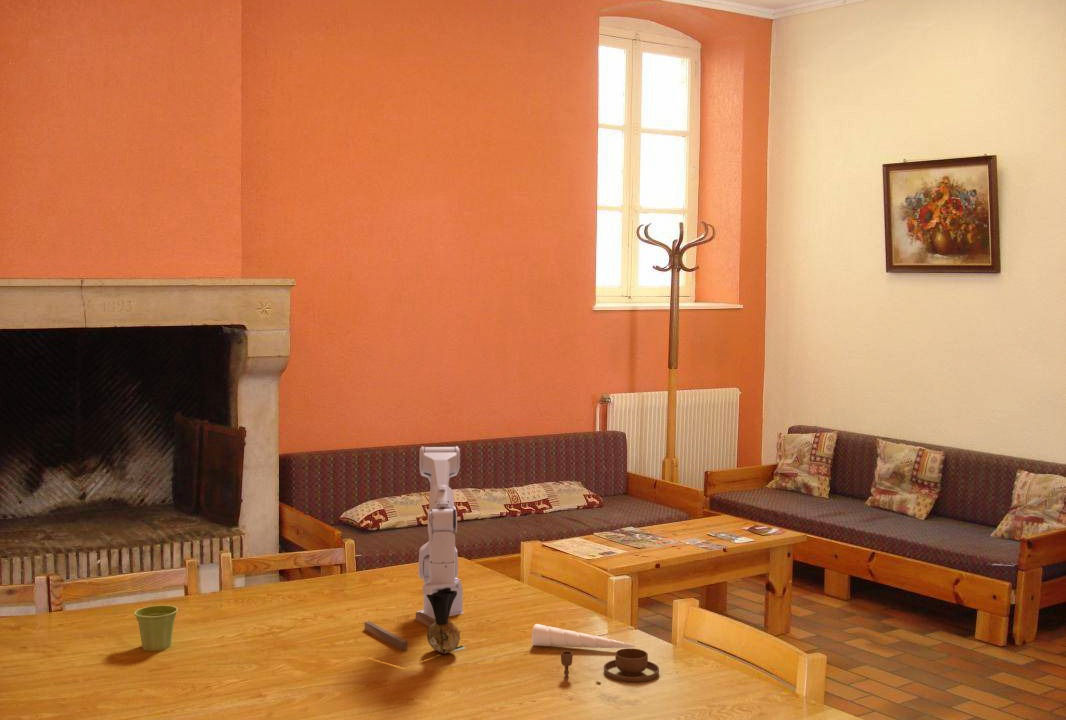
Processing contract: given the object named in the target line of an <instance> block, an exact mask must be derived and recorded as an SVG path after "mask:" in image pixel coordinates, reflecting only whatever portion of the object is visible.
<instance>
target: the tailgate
mask: <svg viewBox="0 0 1066 720" xmlns="http://www.w3.org/2000/svg"><path fill="white" fill-rule="evenodd" d="M466 649H467V647H465V646H464V645H460V646H459V645H458V646H457V648H456V649H455V650H454V651H453V652H457V651H461V650H466ZM441 654H444V653H440V655H441Z"/></svg>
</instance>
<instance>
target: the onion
mask: <svg viewBox="0 0 1066 720" xmlns="http://www.w3.org/2000/svg"><path fill="white" fill-rule="evenodd" d="M458 630H459V628H458V626H457V625H456V624H455V623H454V622H453V621H451V620H450V619H448V622H447V624H445V625H442V624H437V623H436V622H434V623H433V624H432V625H431V626H430V627H429V628H428V629H427V633H426V639H427V642H428V644H429V646H430V647H431V648H432V649H433V650H434V651H436V652H438V653H440V654H441V653H443V654H448V653H452V652H455V651H454V650H455V649H456V648H457V647H459V643H460V640H461V636H460V635H461V633H460V634H459V631H460V630H459V631H458Z"/></svg>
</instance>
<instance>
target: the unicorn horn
mask: <svg viewBox="0 0 1066 720" xmlns="http://www.w3.org/2000/svg"><path fill="white" fill-rule="evenodd" d="M531 644H532V645H533V646H538V647H539V646H541V647H561V648H562V647H563V648H565V647H566V648H567V647H569V648H589V649H591V648H592V649H596V648H598V649H599V648H600V649H628V648H631V649H633V648H635V647H636V646H635V644H634V645H633V644H631V643H629V642H628V643H627V642H623V641H619V640H615V639H611V638H607V637H602V636H597V635H592V634H587V633H584V632H577V631H574V630H568V629H562V628H560V627H554V626H549V625H548V626H547V625H544V624H539V623H535V624H534V625H533V627H532V631H531Z"/></svg>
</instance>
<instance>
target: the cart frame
mask: <svg viewBox="0 0 1066 720" xmlns="http://www.w3.org/2000/svg"><path fill="white" fill-rule="evenodd" d="M415 620H416V621H417V622H419V623H421V624H423V625H425V626H426V627H429V628H430V626H431V625H432V624H433V623H434V622H436V620H435V619H434V618H432V617H430V616H428V615H426V614H423V613H421V612H417V611H416V612H415ZM364 631H366V632H368V633H370V634H372V635H374V636H375V637H377V638H378V639H380V640H382V641H384V642H385V643H388V644H390V645H391V646H392V647H394V648H396V649H398V650H400V651H402V652H405V651H408V641H407V640H406V639H403V638H401V637H399V636H398V635H396V634H394V633H392V632H390V631H388V630H387V629H385V628H383V627H381V626H379V625H377V624H376V623H374V622H371V621H369V620H368V621H364ZM458 631H459V634H460V635H461V633H460V632H461V631H460V630H459V629H458Z"/></svg>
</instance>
